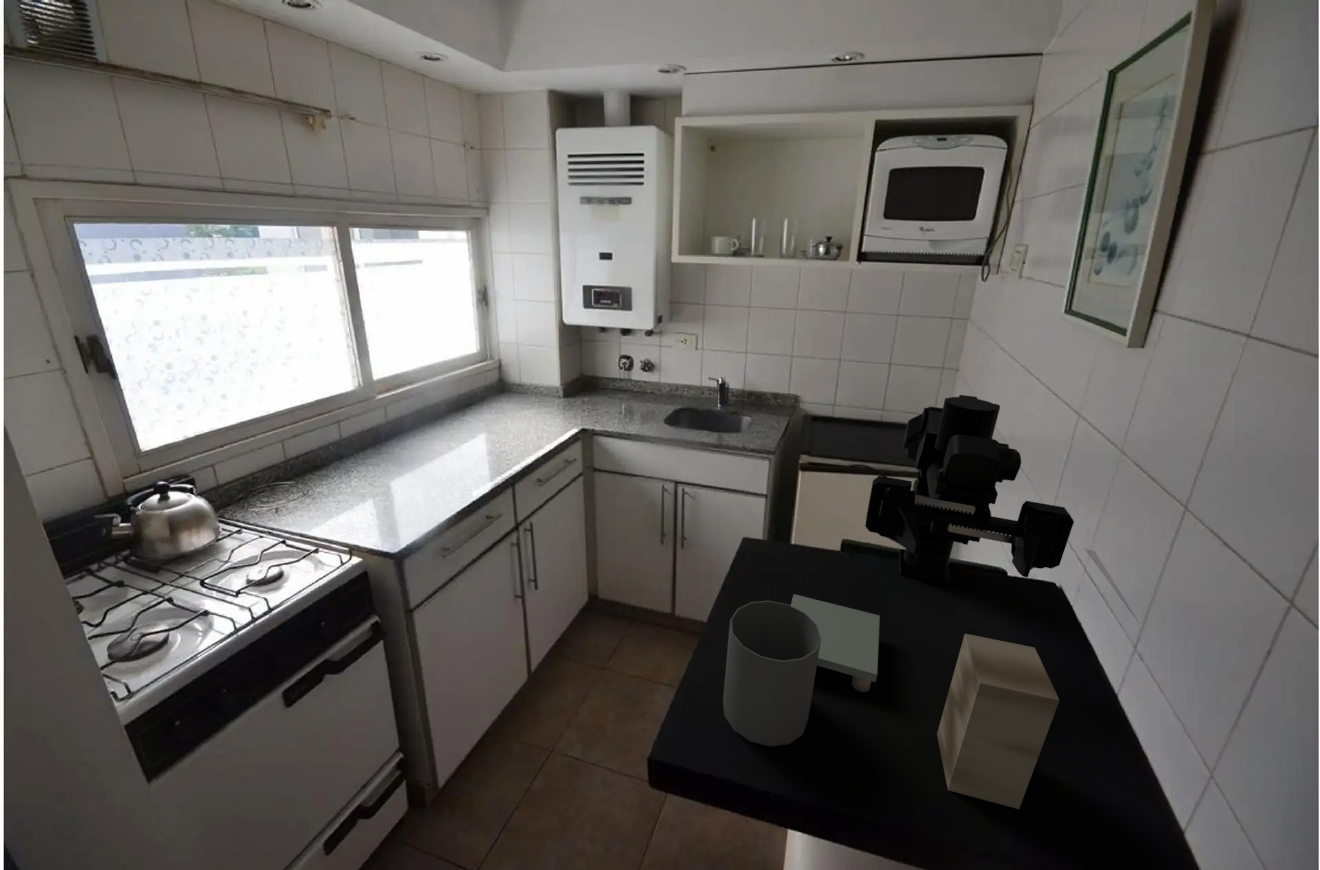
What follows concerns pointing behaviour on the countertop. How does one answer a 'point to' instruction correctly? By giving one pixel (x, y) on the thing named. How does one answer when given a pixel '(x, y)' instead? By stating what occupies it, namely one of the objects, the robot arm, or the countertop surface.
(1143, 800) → the countertop surface
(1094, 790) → the countertop surface
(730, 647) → the cup
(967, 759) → the beech block
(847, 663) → the peg shelf
